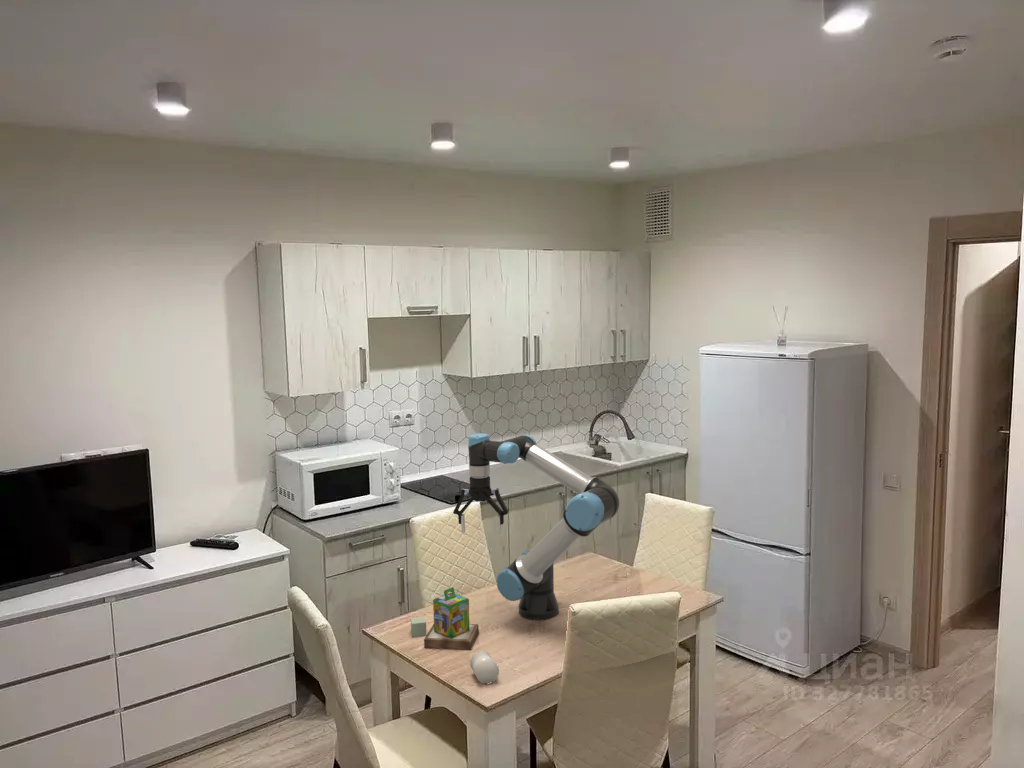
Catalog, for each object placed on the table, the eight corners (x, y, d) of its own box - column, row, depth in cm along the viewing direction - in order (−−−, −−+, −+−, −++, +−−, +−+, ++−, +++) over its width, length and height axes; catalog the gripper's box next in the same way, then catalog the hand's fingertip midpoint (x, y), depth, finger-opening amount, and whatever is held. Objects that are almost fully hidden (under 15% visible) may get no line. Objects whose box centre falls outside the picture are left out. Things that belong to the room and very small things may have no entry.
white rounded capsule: (493, 651, 237) (500, 662, 230) (489, 672, 237) (496, 684, 230) (472, 650, 235) (479, 661, 227) (468, 671, 235) (474, 683, 228)
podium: (478, 632, 266) (478, 623, 265) (470, 650, 252) (470, 640, 252) (434, 630, 268) (434, 621, 268) (424, 647, 254) (424, 638, 254)
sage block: (425, 630, 269) (424, 616, 268) (426, 636, 264) (426, 622, 264) (411, 631, 268) (410, 618, 267) (412, 637, 263) (411, 623, 263)
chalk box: (451, 639, 253) (450, 596, 252) (433, 631, 259) (431, 590, 258) (470, 630, 260) (469, 588, 259) (452, 623, 266) (451, 582, 265)
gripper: (514, 473, 277) (516, 530, 279) (448, 473, 281) (450, 529, 283) (512, 478, 270) (513, 536, 272) (444, 478, 273) (446, 535, 275)
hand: (481, 532), depth 277 cm, fingers open, 13 cm apart
